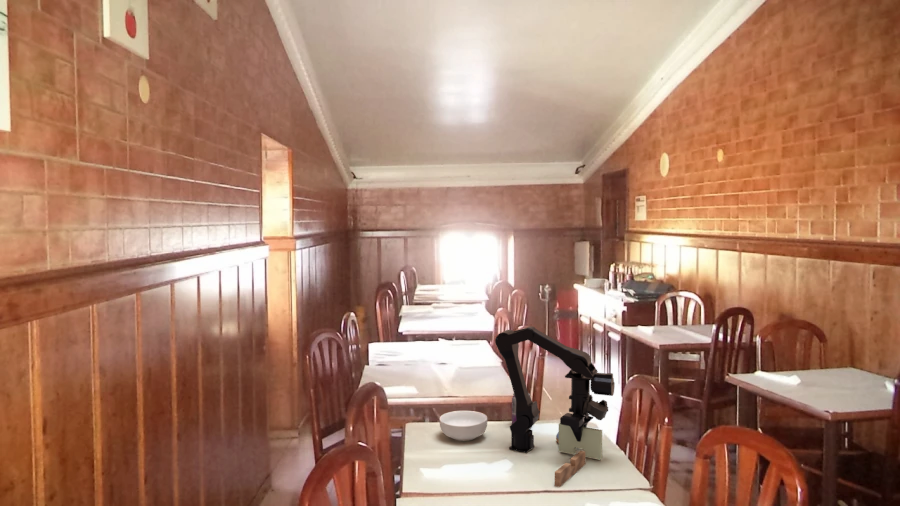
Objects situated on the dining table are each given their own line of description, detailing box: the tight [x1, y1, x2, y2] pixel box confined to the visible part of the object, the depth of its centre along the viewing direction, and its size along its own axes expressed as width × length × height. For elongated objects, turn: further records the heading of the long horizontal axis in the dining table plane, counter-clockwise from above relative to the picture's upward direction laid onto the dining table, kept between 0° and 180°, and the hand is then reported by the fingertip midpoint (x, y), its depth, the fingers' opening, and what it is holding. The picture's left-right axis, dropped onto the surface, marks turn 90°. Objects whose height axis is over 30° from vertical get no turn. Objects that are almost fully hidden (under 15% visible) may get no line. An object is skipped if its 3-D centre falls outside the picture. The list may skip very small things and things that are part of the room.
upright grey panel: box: [558, 423, 603, 461], centre depth 208 cm, size 14×2×9 cm, turn 58°
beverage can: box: [511, 392, 532, 425], centre depth 238 cm, size 7×7×12 cm
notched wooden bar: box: [554, 450, 586, 488], centre depth 194 cm, size 20×2×4 cm, turn 147°
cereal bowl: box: [439, 410, 488, 442], centre depth 227 cm, size 17×17×7 cm
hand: (580, 440), depth 208 cm, fingers closed on upright grey panel, 2 cm apart
